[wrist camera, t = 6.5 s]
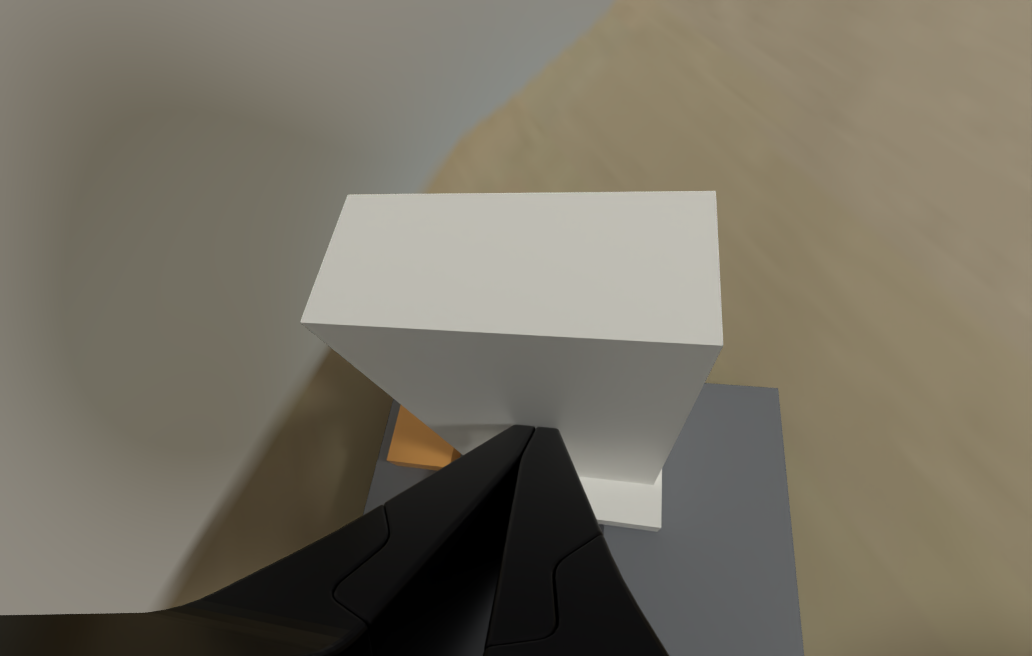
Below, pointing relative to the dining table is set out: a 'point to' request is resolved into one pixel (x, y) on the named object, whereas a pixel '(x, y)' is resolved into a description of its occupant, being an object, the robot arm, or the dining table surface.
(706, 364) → the tab
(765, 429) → the switch panel
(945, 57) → the dining table surface
